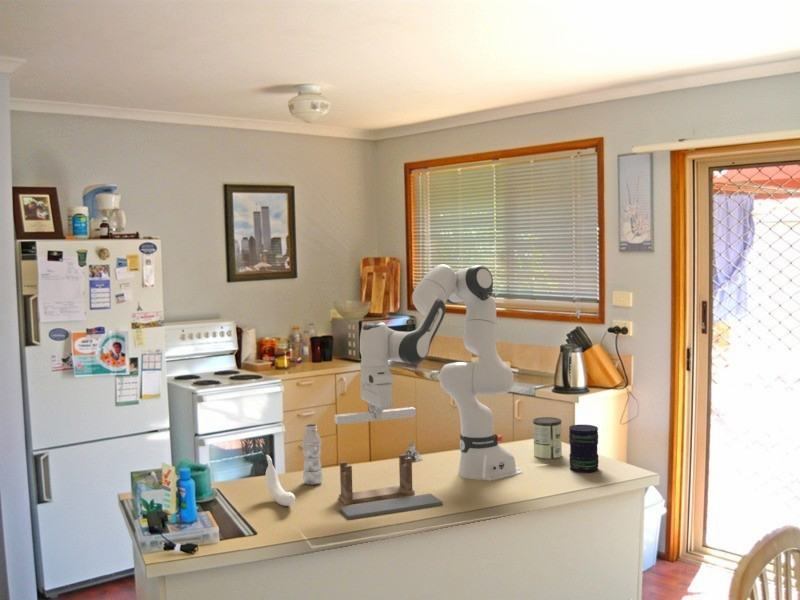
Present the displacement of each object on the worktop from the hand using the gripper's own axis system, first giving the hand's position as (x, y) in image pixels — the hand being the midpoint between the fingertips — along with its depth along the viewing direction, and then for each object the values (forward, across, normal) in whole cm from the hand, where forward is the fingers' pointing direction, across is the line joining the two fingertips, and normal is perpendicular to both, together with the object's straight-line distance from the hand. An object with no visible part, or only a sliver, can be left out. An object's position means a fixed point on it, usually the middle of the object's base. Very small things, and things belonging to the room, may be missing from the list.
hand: (375, 418), depth 249 cm
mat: (+25, +11, 0) cm, 28 cm away
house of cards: (+26, -36, +28) cm, 52 cm away
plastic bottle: (+25, -23, -15) cm, 37 cm away
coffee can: (+25, -18, +73) cm, 79 cm away
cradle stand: (+25, -1, 0) cm, 25 cm away
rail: (0, 0, 0) cm, 0 cm away
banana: (+25, -6, -30) cm, 39 cm away
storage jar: (+25, +2, +75) cm, 79 cm away
